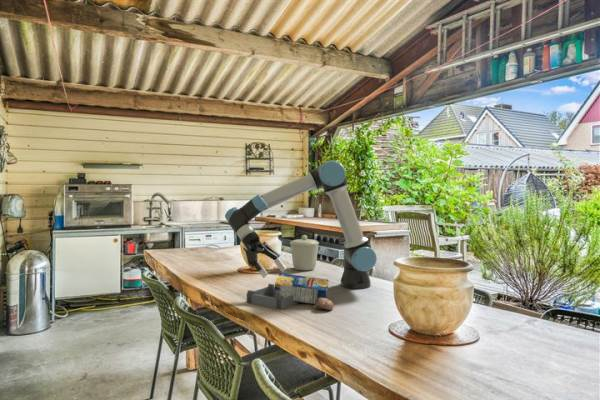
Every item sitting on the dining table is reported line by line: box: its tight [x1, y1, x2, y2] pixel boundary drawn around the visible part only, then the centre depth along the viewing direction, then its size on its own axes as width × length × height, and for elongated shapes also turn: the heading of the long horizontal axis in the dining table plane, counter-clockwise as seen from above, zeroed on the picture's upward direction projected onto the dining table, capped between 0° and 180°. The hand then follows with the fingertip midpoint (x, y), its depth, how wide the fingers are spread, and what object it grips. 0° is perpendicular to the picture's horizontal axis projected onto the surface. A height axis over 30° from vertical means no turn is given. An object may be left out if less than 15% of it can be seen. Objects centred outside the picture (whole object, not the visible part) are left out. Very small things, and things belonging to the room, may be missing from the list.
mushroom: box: [313, 297, 334, 311], centre depth 167 cm, size 8×6×8 cm
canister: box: [289, 234, 320, 272], centre depth 252 cm, size 18×18×21 cm
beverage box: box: [273, 272, 329, 305], centre depth 178 cm, size 7×11×22 cm
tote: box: [246, 283, 300, 310], centre depth 179 cm, size 19×16×5 cm
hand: (275, 273), depth 178 cm, fingers open, 13 cm apart
